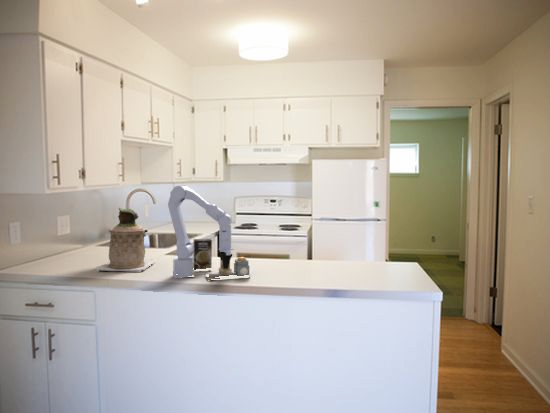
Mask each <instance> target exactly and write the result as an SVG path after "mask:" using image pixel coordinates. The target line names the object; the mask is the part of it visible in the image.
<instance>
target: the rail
mask: <svg viewBox="0 0 550 413" xmlns="http://www.w3.org/2000/svg"><path fill="white" fill-rule="evenodd" d="M208 274H209V277H219V276H229V275H236V272H235V271H234V270H232V273H231V274H229V275H221V273H220V272H219V271H218V272H209V273H208Z"/></svg>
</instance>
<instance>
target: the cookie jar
mask: <svg viewBox="0 0 550 413" xmlns="http://www.w3.org/2000/svg"><path fill="white" fill-rule="evenodd" d="M118 210H119V211H118V216H117V217H118V220H119V223H118V224H116V226H114V227H113V228H109V231H108V232H109V234H110V241H109V245H108V246H109V249H108V260H109V262H107V263H104V264H101V265H98V266H96V267H95V269H96V270H97V272H98V273H99V272H100V271H103V272H105V271H107V272H131V273H142V271H145V270H146V269H148V267H149V266H150V267H152V266H151V265H148V264H150V263H154V262H155V263H156V262H157V260H156V259H145V256H146V247H145V232H146V229H145V228H143V226H141V225H139V224H137V223H136V220H137V219H138V218H139V215H138V213H137V212H135V210H133V209H131V208H121V207H119V208H118ZM150 267H149V268H150Z"/></svg>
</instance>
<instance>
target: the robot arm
mask: <svg viewBox="0 0 550 413" xmlns="http://www.w3.org/2000/svg"><path fill="white" fill-rule="evenodd" d="M169 194H170V195H169V199H168V203H167V207H168V210H169V215H170V217H171V218H170V219H171V223H172V226H173V230H174V234H175V238H176V243H175V244H176V245H175V246H176V252H175V254H176V256H177V258H174V259H173V261H172V262H173V263H172V267H173V268H172V269H173V270H172V275H174V276H173V278H174V279H175V278H179V279H182V278H181V277H188V276H192V275H193V274H194V270H193V253H194V247H193V244H192V242H191V240H190V238H189V237H188V234H187V229H186V225H185V222H184V217H183V214H182V210H181V205H182V204H183V202H184V201H185V200H188V201H193V202H194V203H195V204H197V205H198V206H199V207H201V208H203V210H205V213H206V215H207V216H208V217H210V218H211V219H213V220H215V222H217V224H218V227H219V228H218V229H219V230H218V235H219V236H218V237H219V238H218V252H217V253H218V256H219V260H222V261H223V267H224V269H225V268H228V267H229V263H230V264H231V259H232V257H233V253H231V251H234V249H235V248H234V247H232V223H233V218H232V216H231V215H230V214H228V213H227V211H225V210H224V211H223V210H222V209H221V208H219V205H218V204H214V203H209V202H208V201H206V199H204V198H203V197H202V196H201V195H199V194H198V193H197V192H195V191H194V190H193V189H192V188H190V187H189V186H187V185H176V186H174V187H173V188H172V189H171V191H170V193H169ZM176 274H178V275H176Z"/></svg>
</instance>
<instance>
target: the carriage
mask: <svg viewBox="0 0 550 413" xmlns="http://www.w3.org/2000/svg"><path fill="white" fill-rule="evenodd" d="M219 260H220V266H219V267H218V272H220V273H221V275H229V274H231V273H232V272H233V270H232V269H233V268H231V262H230V263H229V267H228V268H225V269H224V267H223V261H222V260H221V259H219Z"/></svg>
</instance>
